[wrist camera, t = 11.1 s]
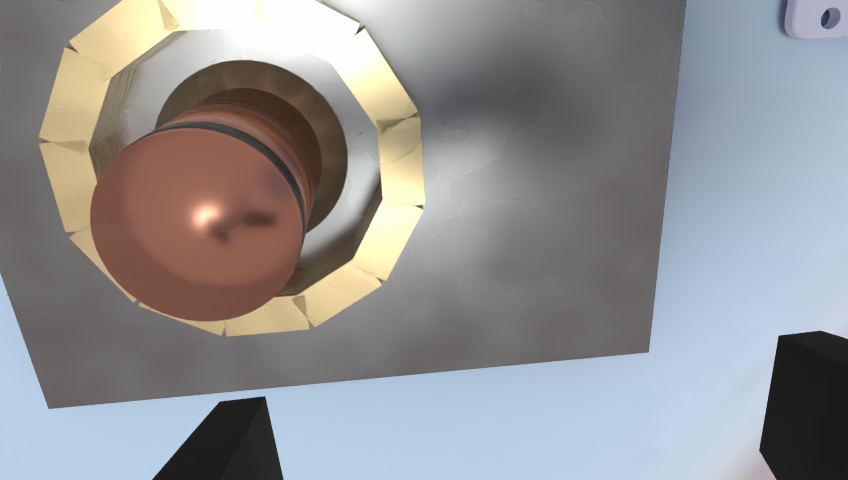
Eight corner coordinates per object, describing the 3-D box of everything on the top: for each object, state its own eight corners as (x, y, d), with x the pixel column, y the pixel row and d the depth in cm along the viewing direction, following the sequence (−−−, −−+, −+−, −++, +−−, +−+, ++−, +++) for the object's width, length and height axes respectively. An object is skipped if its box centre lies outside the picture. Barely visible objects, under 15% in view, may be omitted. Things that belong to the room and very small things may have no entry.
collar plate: (688, -178, 14) (748, -210, 12) (638, 338, 19) (672, 383, 17) (-122, -146, 13) (-221, -173, 11) (61, 392, 18) (19, 446, 16)
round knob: (347, 130, 15) (336, 189, 11) (287, 249, 16) (253, 350, 12) (207, 59, 14) (130, 90, 10) (154, 190, 15) (61, 273, 11)
